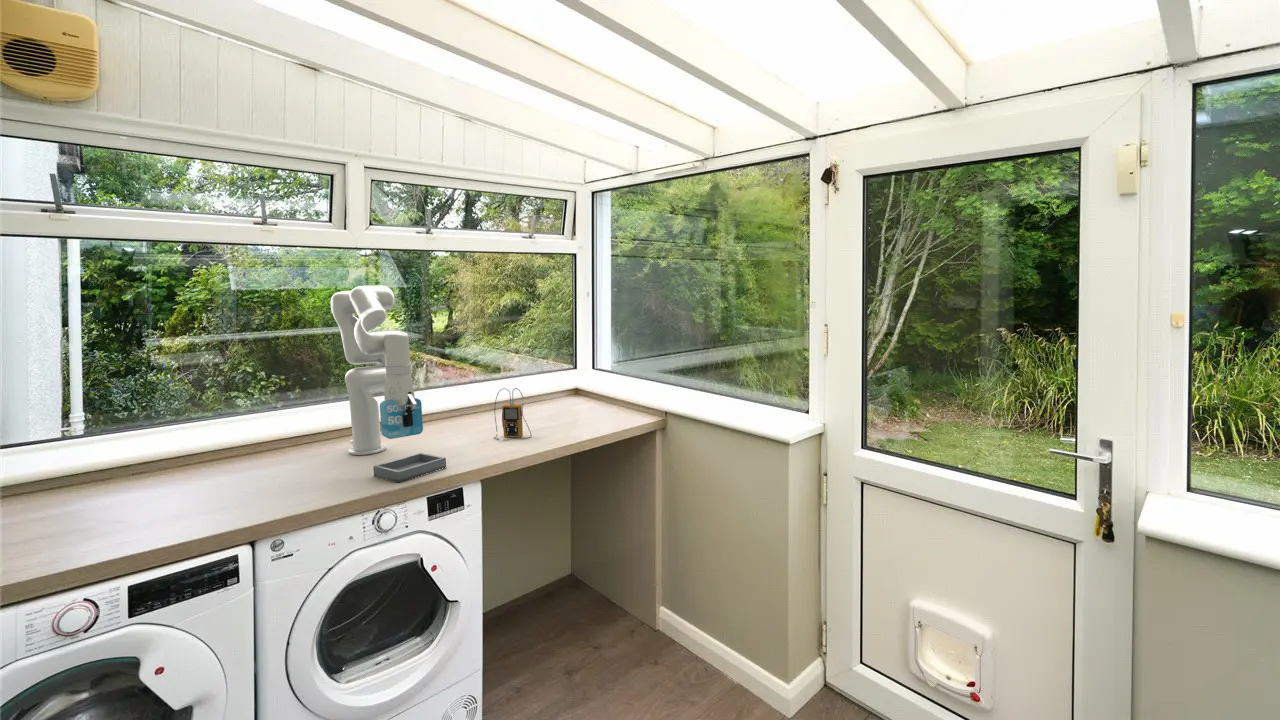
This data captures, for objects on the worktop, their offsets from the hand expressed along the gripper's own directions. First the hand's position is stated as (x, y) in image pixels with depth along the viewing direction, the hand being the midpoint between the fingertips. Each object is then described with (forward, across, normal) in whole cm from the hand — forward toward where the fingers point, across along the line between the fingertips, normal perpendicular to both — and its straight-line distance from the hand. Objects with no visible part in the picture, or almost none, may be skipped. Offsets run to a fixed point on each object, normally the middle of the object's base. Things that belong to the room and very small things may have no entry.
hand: (402, 424), depth 194 cm
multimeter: (+16, 0, +48) cm, 51 cm away
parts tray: (+16, +3, 0) cm, 16 cm away
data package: (+4, 0, 0) cm, 4 cm away
